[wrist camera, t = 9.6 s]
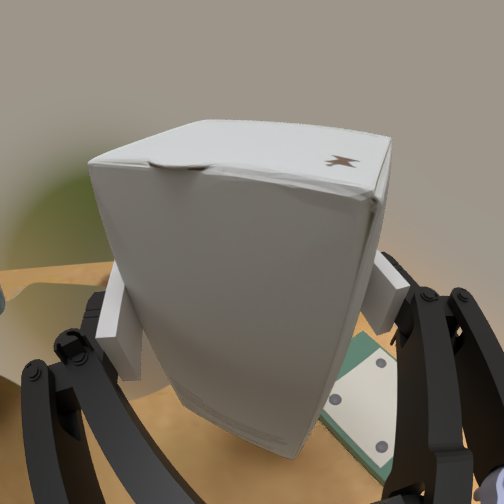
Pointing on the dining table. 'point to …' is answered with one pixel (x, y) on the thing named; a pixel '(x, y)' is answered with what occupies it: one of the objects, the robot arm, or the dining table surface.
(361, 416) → the board
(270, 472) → the dining table surface
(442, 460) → the robot arm
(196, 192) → the skincare box
